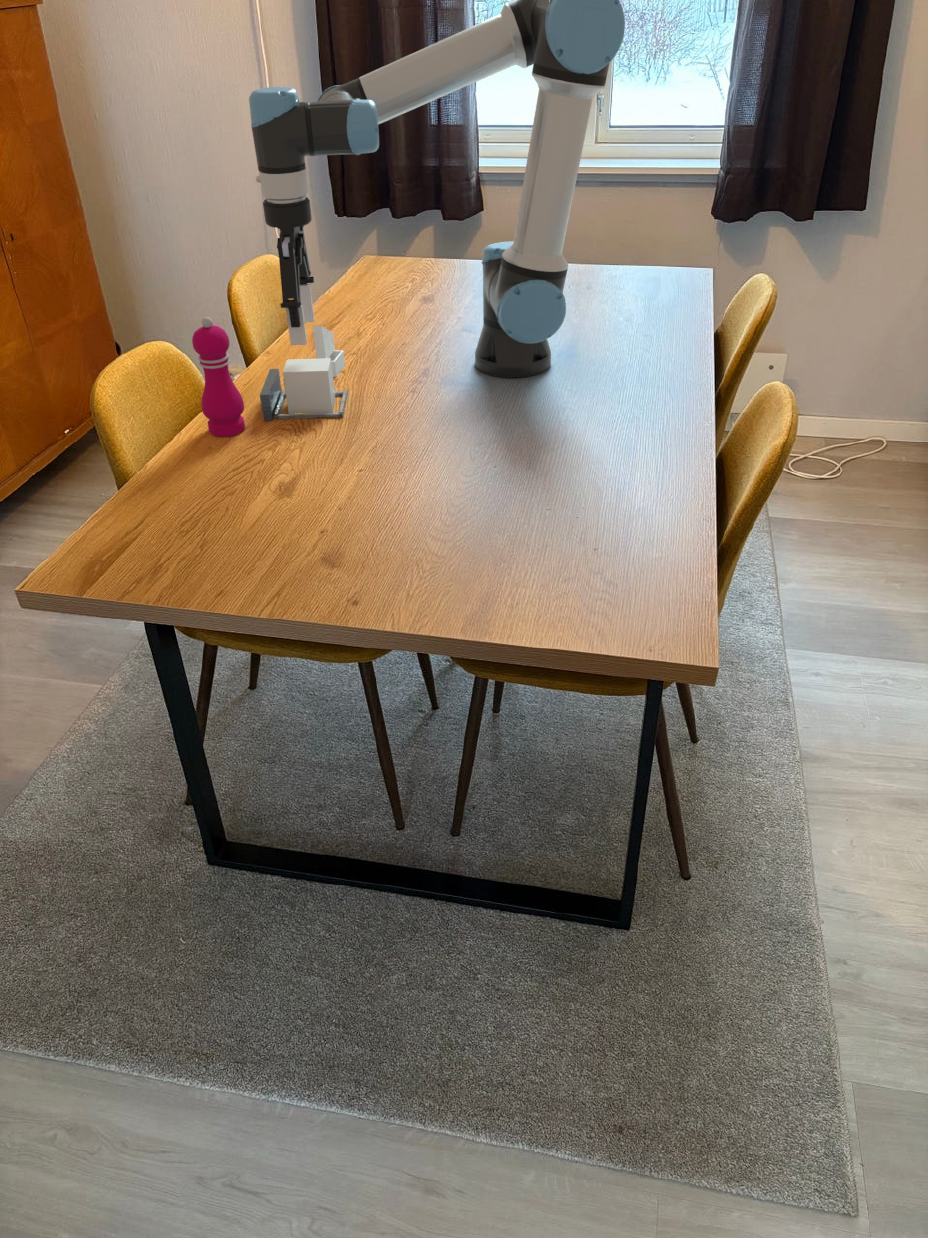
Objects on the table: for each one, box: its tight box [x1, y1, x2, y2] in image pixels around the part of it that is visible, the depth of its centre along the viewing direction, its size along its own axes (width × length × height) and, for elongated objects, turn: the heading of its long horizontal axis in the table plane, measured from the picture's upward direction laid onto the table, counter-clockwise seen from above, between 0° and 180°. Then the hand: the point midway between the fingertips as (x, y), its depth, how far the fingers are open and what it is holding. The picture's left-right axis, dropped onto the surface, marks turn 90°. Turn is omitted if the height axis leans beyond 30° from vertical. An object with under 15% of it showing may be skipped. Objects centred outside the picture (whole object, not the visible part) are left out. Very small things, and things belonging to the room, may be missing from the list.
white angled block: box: [312, 325, 346, 378], centre depth 184 cm, size 4×10×9 cm, turn 168°
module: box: [282, 358, 336, 414], centre depth 170 cm, size 8×6×8 cm
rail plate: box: [259, 368, 349, 422], centre depth 171 cm, size 14×12×5 cm
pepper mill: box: [191, 316, 246, 438], centre depth 160 cm, size 7×7×20 cm
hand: (303, 332), depth 165 cm, fingers open, 10 cm apart
